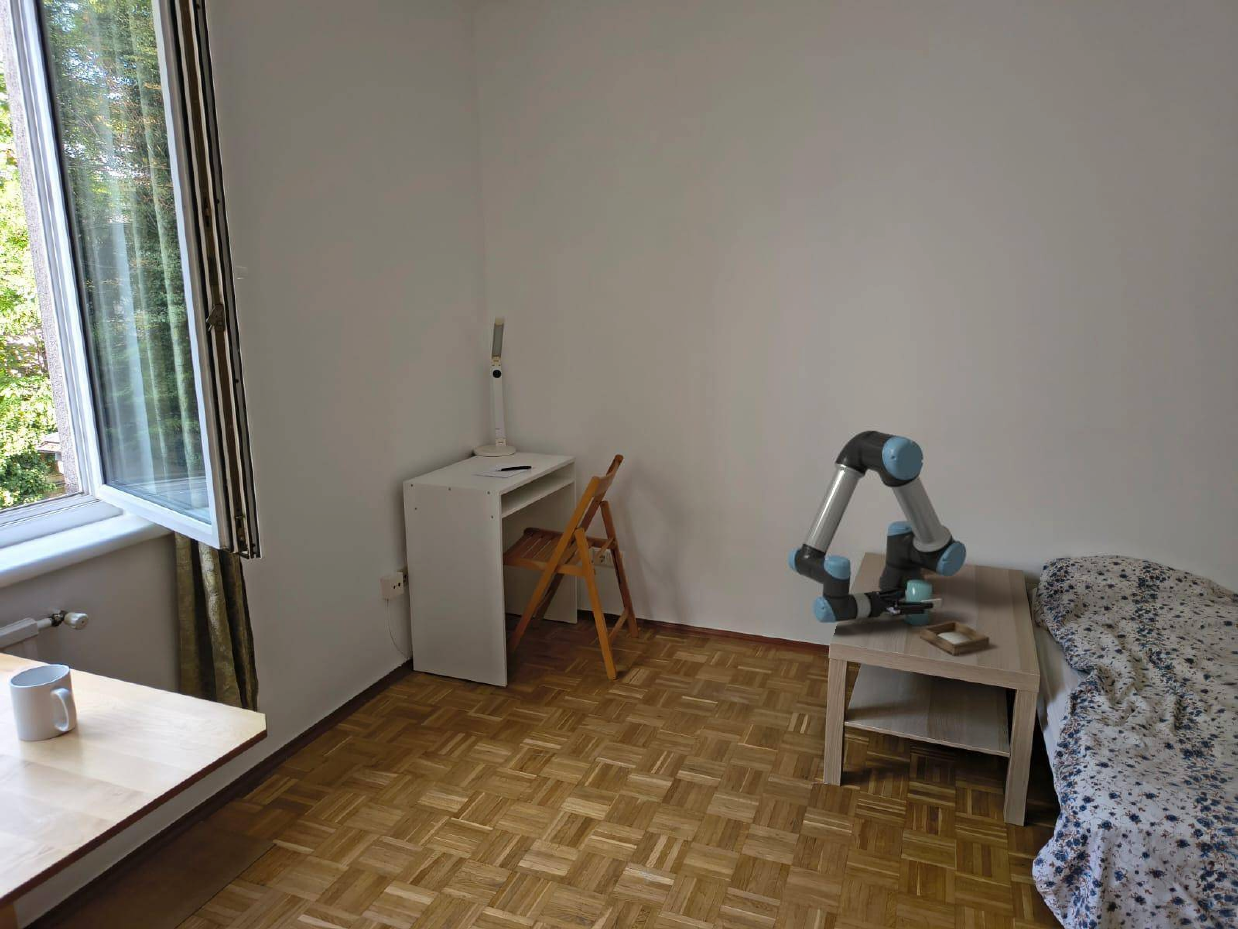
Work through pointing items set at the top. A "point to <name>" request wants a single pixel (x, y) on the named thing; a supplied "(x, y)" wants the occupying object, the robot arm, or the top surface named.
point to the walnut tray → (975, 637)
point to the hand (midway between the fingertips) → (932, 597)
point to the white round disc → (954, 637)
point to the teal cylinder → (918, 600)
